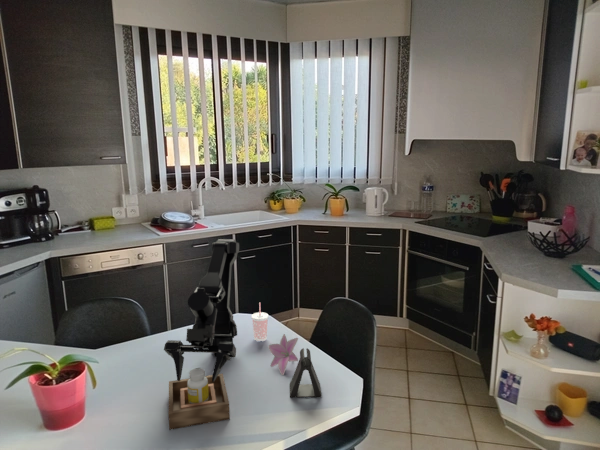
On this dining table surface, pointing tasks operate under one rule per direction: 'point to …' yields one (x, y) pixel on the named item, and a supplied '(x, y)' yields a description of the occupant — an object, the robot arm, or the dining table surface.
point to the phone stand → (295, 386)
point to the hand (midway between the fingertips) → (195, 381)
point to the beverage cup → (260, 325)
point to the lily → (283, 353)
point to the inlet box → (197, 404)
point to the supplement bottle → (197, 386)
